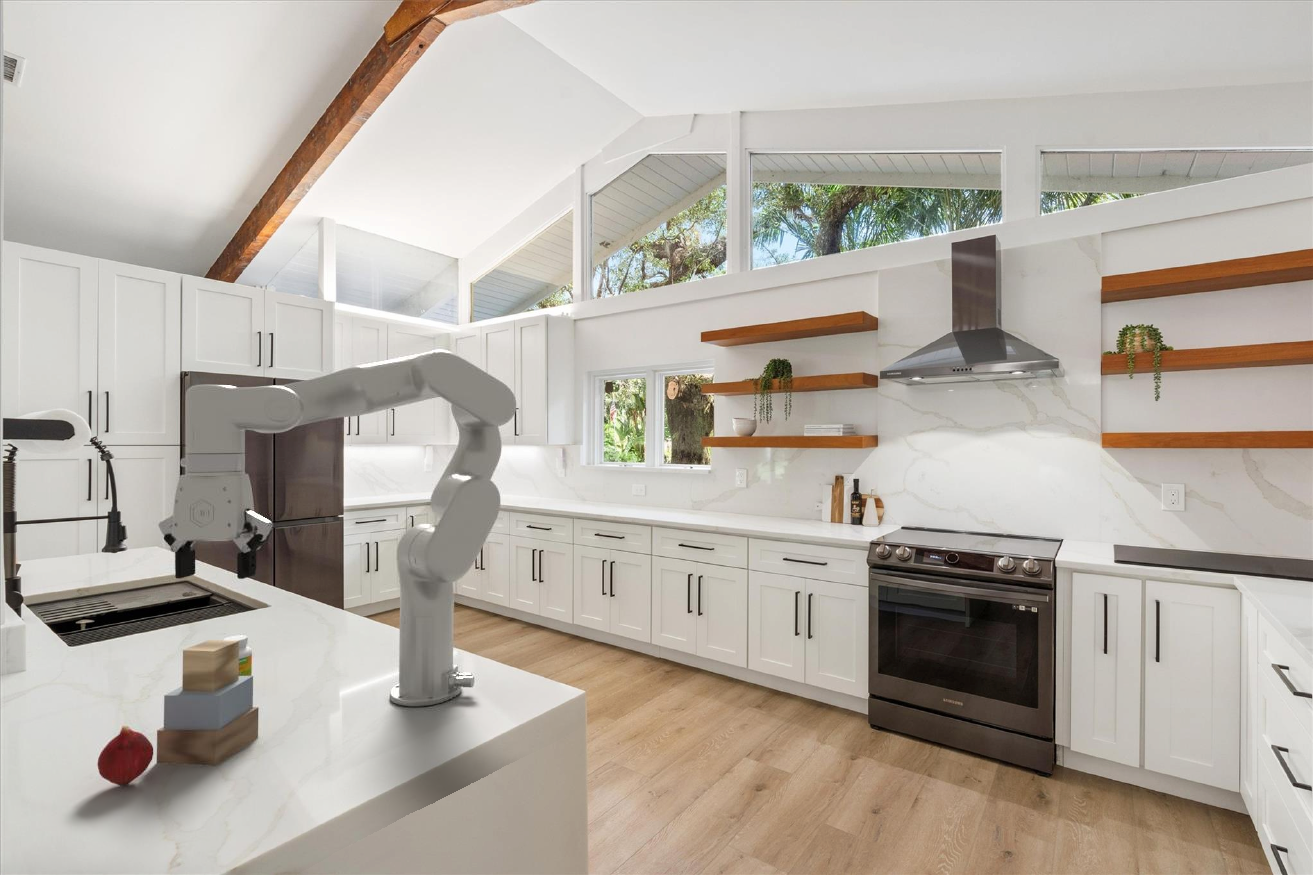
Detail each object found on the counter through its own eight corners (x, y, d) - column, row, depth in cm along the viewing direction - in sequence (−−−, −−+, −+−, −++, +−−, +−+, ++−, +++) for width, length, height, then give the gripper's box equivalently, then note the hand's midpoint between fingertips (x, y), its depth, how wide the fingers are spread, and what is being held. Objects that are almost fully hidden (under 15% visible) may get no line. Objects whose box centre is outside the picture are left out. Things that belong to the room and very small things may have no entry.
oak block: (213, 691, 95) (213, 651, 95) (182, 690, 96) (182, 650, 96) (238, 679, 100) (239, 641, 100) (209, 678, 101) (209, 639, 101)
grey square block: (252, 707, 102) (253, 675, 102) (218, 729, 94) (219, 695, 94) (202, 707, 102) (202, 675, 102) (163, 729, 94) (164, 695, 94)
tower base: (258, 738, 102) (258, 707, 102) (215, 767, 93) (215, 732, 93) (204, 736, 102) (204, 705, 102) (156, 764, 93) (157, 730, 93)
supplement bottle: (234, 696, 118) (235, 643, 118) (210, 693, 119) (210, 641, 119) (258, 685, 123) (258, 634, 124) (234, 683, 124) (235, 633, 125)
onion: (163, 773, 90) (163, 716, 90) (130, 796, 84) (131, 735, 85) (120, 774, 90) (121, 717, 90) (85, 796, 84) (86, 735, 84)
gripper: (140, 466, 95) (141, 582, 95) (254, 466, 94) (254, 582, 94) (180, 464, 102) (180, 571, 102) (285, 464, 102) (285, 572, 102)
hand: (215, 576), depth 98 cm, fingers open, 9 cm apart
